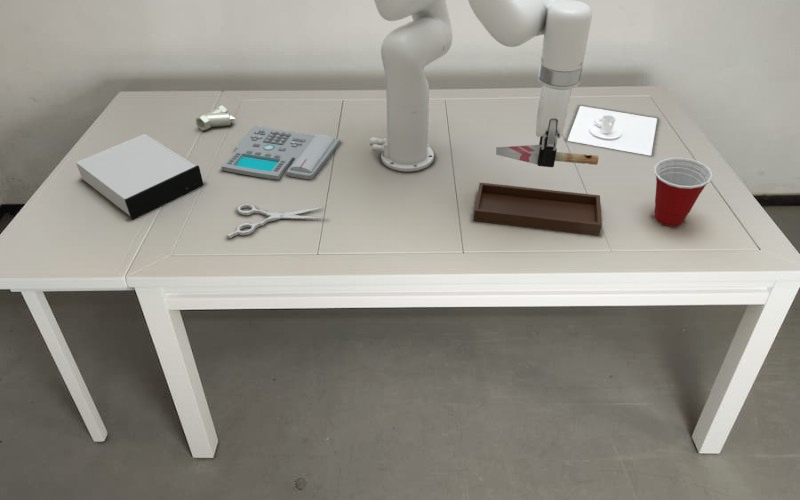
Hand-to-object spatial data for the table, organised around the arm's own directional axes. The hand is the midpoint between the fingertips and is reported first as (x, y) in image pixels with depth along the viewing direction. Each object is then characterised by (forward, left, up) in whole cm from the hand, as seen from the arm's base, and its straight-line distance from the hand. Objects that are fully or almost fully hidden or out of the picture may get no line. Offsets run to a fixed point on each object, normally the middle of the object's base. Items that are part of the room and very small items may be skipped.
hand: (545, 159), depth 127 cm
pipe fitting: (-82, +22, -13) cm, 86 cm away
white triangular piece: (+18, +40, -13) cm, 46 cm away
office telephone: (-61, +11, -13) cm, 63 cm away
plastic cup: (+27, +3, -13) cm, 30 cm away
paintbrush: (0, 0, -1) cm, 1 cm away
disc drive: (-88, -6, -13) cm, 89 cm away
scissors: (-53, -13, -13) cm, 56 cm away
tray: (0, -1, -13) cm, 13 cm away
